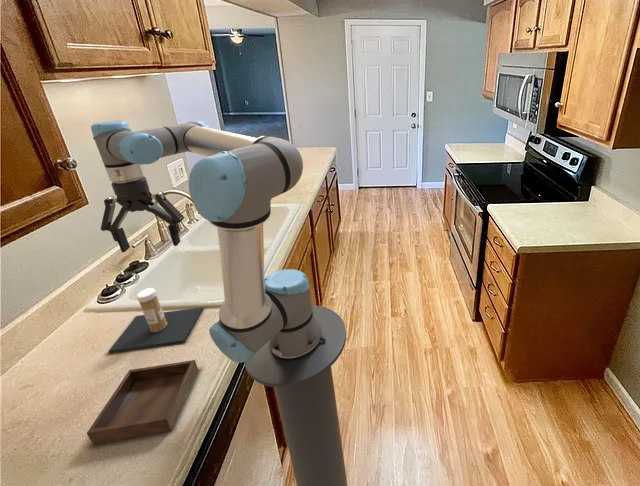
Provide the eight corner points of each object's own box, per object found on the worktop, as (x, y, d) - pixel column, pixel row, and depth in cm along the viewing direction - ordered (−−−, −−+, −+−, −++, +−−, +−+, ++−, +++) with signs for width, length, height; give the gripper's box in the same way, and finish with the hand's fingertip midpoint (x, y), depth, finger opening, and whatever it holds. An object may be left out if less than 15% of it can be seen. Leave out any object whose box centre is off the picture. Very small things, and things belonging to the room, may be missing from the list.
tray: (198, 370, 88) (195, 359, 86) (171, 430, 73) (166, 419, 72) (134, 380, 85) (129, 369, 84) (93, 445, 71) (86, 433, 70)
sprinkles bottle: (171, 323, 103) (158, 288, 98) (157, 334, 99) (143, 298, 94) (160, 320, 104) (147, 285, 99) (146, 331, 100) (132, 295, 95)
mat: (203, 309, 110) (202, 307, 109) (185, 342, 97) (184, 340, 97) (137, 317, 107) (136, 315, 106) (109, 353, 94) (108, 350, 94)
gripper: (64, 188, 83) (95, 259, 91) (172, 179, 88) (193, 247, 95) (84, 178, 90) (111, 245, 98) (184, 170, 95) (202, 235, 102)
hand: (152, 246), depth 97 cm, fingers open, 13 cm apart
